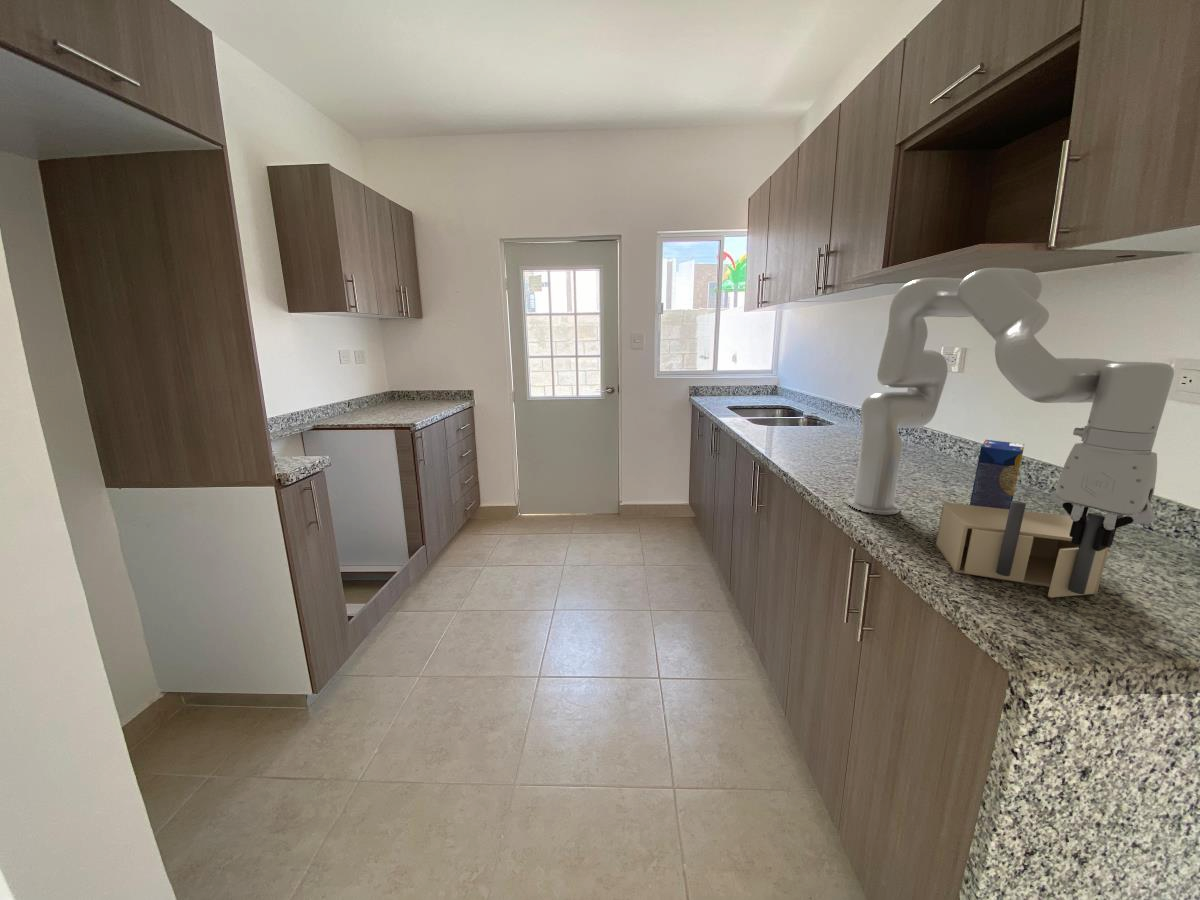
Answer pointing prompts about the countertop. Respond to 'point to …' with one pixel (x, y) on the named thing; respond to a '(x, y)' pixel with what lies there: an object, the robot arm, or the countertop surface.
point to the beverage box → (996, 474)
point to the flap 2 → (1079, 563)
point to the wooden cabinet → (1042, 526)
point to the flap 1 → (1000, 549)
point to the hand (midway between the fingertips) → (1088, 545)
